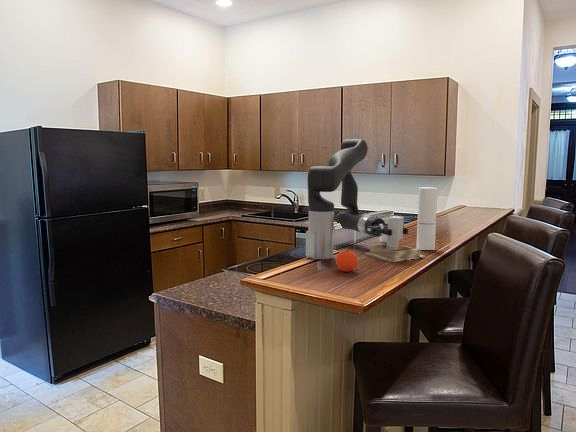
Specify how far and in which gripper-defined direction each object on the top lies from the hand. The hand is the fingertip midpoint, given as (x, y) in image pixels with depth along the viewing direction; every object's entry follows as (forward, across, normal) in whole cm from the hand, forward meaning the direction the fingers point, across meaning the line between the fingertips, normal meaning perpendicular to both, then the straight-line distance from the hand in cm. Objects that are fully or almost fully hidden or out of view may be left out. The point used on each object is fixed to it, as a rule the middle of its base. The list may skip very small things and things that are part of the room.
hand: (399, 232), depth 166 cm
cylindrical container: (-8, +21, +10) cm, 25 cm away
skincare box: (-2, 0, +7) cm, 7 cm away
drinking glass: (-29, +19, +10) cm, 36 cm away
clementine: (+10, -30, +9) cm, 33 cm away
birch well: (-2, 0, +10) cm, 10 cm away
